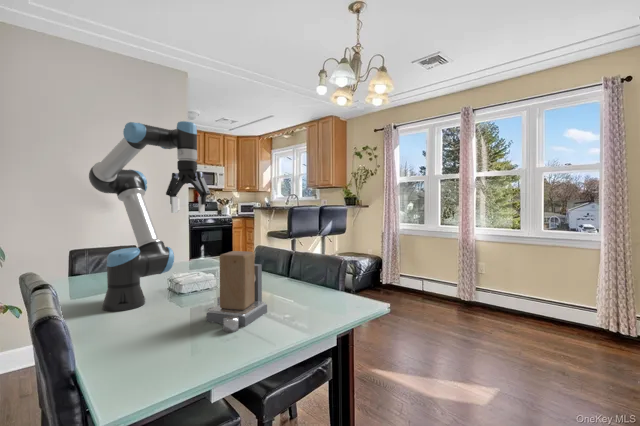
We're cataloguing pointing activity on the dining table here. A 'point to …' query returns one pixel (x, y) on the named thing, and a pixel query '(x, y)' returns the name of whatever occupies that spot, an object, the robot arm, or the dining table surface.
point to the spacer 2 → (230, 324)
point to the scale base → (258, 297)
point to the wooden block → (237, 280)
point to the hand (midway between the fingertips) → (188, 212)
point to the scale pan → (236, 312)
